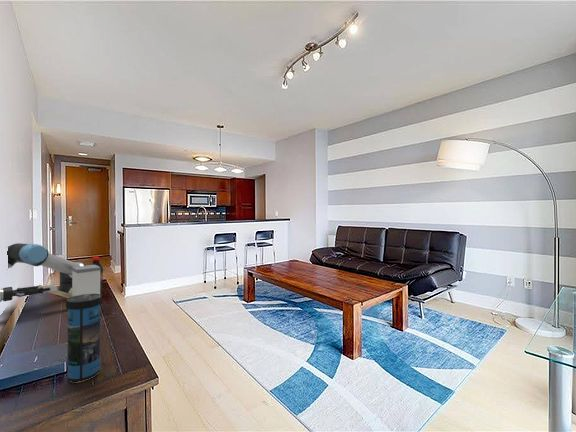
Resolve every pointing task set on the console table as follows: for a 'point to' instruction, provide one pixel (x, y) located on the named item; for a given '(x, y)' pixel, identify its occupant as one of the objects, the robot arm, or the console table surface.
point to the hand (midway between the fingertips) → (55, 287)
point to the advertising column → (83, 336)
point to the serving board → (59, 292)
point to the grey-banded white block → (85, 280)
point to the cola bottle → (96, 262)
